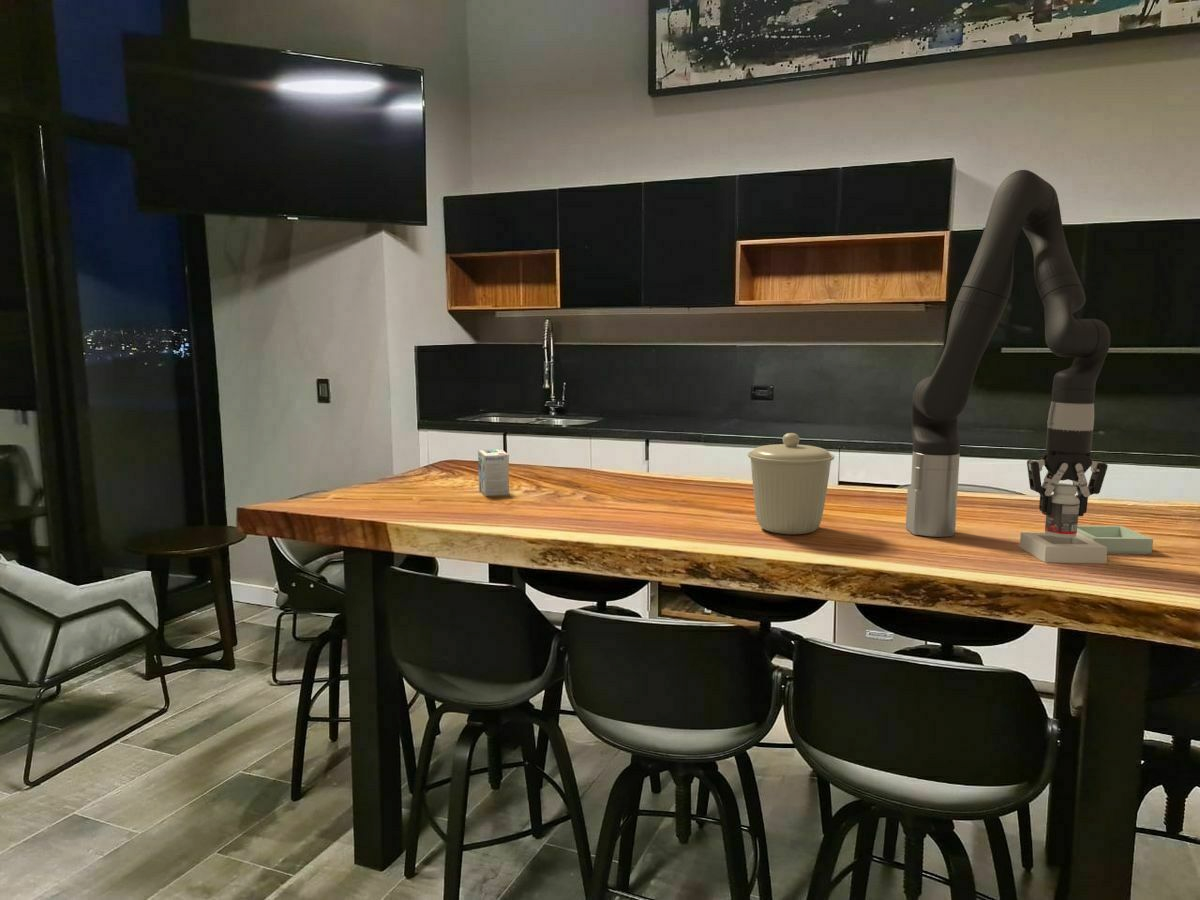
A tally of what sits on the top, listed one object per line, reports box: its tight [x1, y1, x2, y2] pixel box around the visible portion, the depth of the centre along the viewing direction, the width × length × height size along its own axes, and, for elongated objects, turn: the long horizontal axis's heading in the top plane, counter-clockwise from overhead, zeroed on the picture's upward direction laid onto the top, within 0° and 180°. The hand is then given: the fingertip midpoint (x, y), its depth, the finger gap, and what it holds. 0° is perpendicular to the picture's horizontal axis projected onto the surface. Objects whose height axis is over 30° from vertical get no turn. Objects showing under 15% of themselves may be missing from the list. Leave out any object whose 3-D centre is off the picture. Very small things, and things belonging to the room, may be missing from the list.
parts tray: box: [1077, 524, 1154, 555], centre depth 168 cm, size 11×11×3 cm
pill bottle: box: [1044, 482, 1080, 538], centre depth 161 cm, size 5×5×10 cm
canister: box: [747, 432, 835, 535], centre depth 182 cm, size 18×18×21 cm
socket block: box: [1019, 532, 1108, 564], centre depth 162 cm, size 11×11×3 cm
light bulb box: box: [477, 448, 510, 497], centre depth 226 cm, size 11×7×11 cm, turn 17°
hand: (1062, 514), depth 161 cm, fingers closed on pill bottle, 5 cm apart
